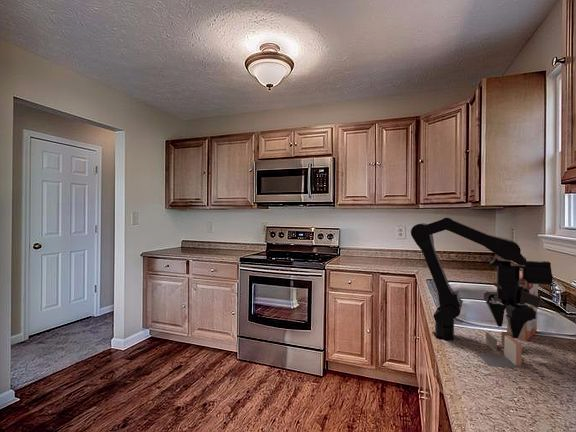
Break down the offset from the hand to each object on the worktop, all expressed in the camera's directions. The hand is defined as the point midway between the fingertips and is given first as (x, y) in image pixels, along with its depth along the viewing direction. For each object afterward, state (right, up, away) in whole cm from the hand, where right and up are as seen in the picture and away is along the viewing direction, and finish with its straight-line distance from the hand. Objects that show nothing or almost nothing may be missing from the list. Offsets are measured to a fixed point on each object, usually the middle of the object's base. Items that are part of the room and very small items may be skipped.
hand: (507, 332), depth 98 cm
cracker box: (+13, -5, +11) cm, 18 cm away
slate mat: (-8, -6, -8) cm, 12 cm away
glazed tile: (-4, -5, -8) cm, 11 cm away
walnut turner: (-2, -5, 0) cm, 6 cm away
